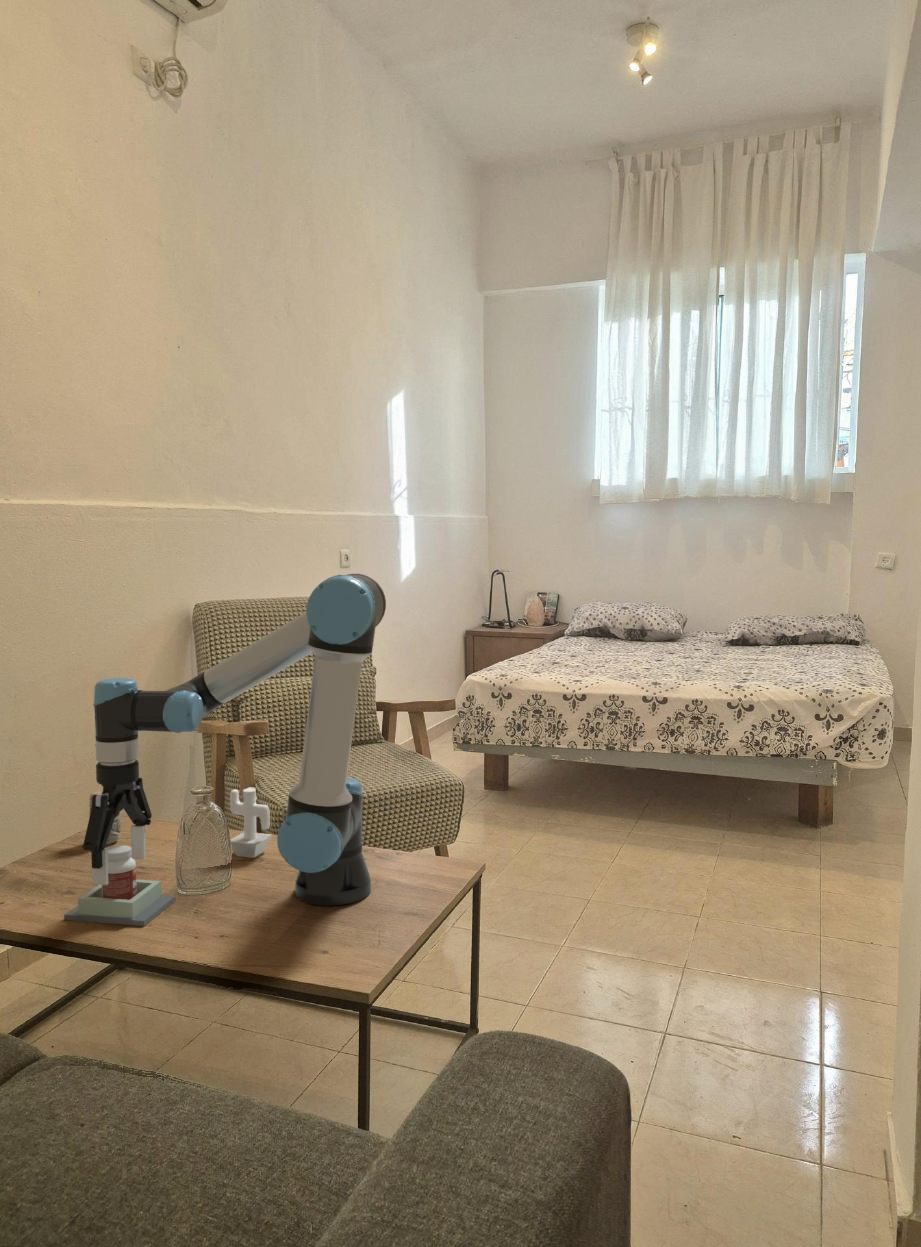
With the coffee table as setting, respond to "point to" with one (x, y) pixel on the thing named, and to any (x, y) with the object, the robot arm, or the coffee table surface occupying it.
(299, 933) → the coffee table surface
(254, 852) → the figurine
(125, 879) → the pill bottle
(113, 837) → the carving
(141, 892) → the bottle holder
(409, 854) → the coffee table surface
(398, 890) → the coffee table surface
